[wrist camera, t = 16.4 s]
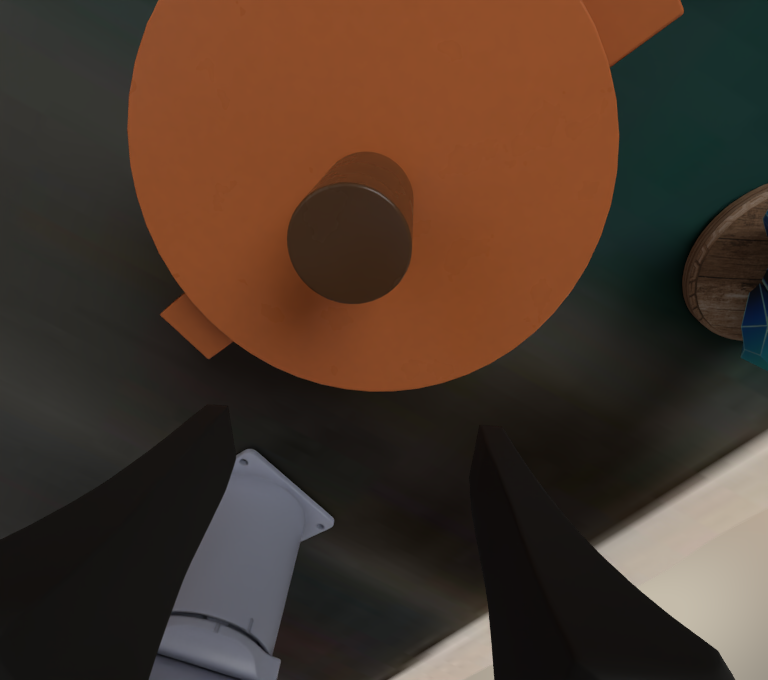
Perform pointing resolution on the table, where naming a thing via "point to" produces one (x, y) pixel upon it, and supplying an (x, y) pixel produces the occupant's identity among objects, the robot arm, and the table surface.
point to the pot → (619, 38)
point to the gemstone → (733, 275)
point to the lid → (374, 175)
